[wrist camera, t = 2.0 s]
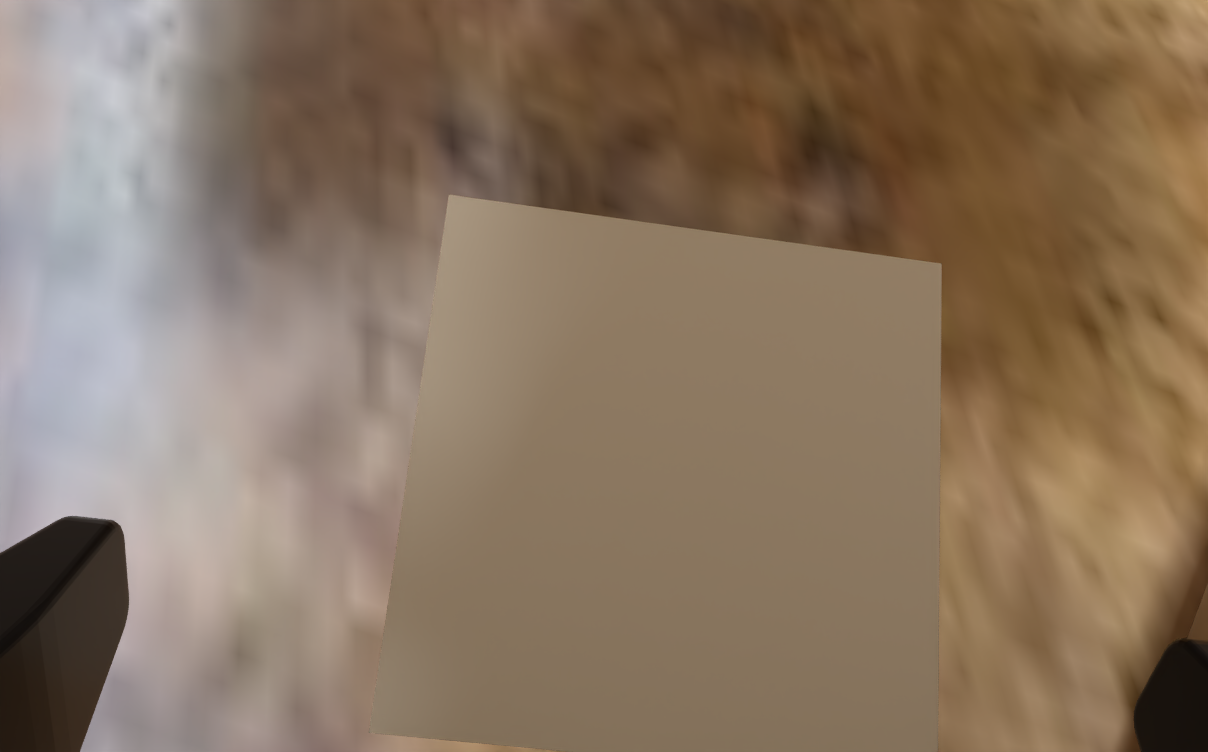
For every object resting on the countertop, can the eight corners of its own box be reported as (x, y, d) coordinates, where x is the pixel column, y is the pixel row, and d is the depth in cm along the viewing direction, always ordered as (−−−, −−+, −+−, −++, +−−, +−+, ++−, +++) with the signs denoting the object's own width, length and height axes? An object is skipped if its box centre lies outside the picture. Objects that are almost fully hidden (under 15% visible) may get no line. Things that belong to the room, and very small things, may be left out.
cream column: (689, 728, 18) (937, 786, 9) (422, 702, 18) (369, 733, 8) (707, 468, 19) (941, 263, 10) (457, 437, 19) (448, 194, 9)
